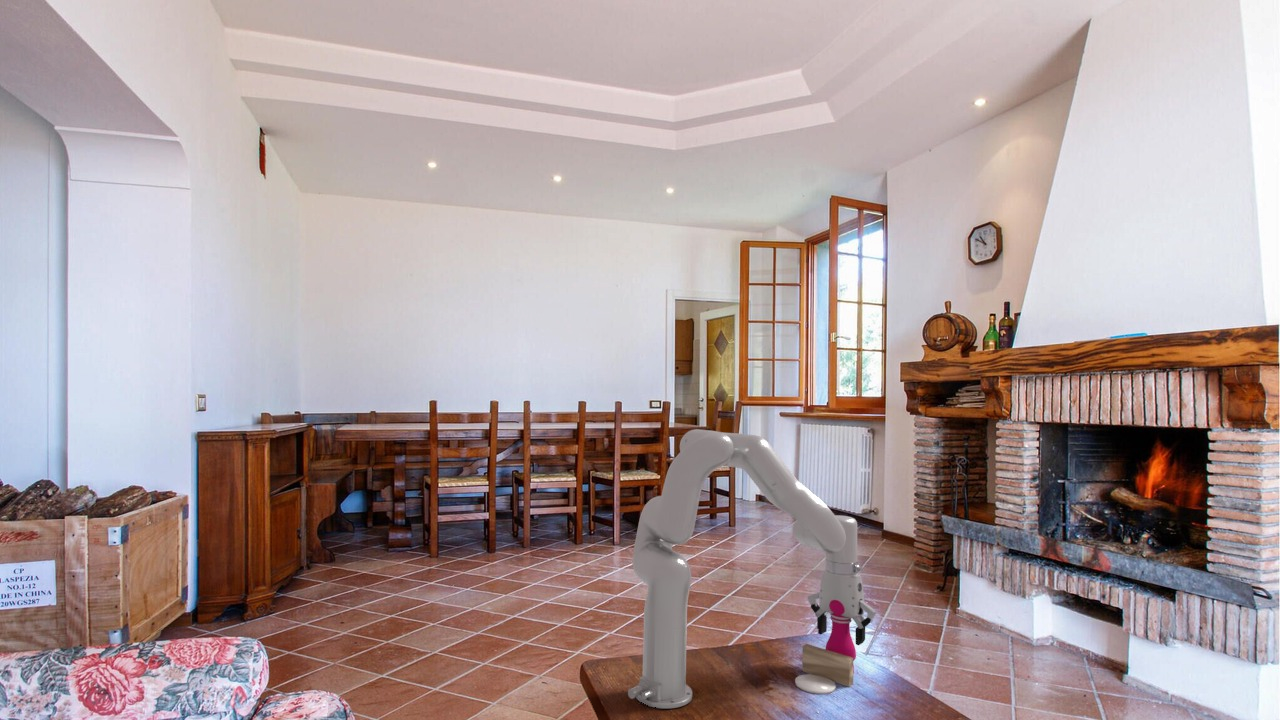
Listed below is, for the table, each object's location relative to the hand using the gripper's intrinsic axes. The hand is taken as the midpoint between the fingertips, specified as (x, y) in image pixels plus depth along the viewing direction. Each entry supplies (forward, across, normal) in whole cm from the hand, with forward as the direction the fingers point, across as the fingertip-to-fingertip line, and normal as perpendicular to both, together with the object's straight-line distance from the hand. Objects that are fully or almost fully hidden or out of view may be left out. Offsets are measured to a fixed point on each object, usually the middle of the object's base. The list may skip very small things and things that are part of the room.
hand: (840, 638), depth 160 cm
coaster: (+8, 0, +12) cm, 14 cm away
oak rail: (+8, 0, +6) cm, 10 cm away
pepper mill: (+8, 0, 0) cm, 8 cm away
